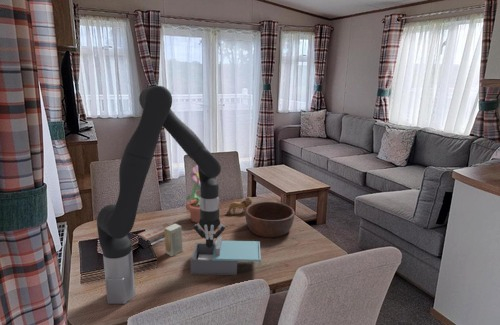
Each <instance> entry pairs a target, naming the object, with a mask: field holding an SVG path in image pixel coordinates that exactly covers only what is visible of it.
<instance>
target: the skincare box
mask: <svg viewBox="0 0 500 325" xmlns="http://www.w3.org/2000/svg"><path fill="white" fill-rule="evenodd" d="M164 231H165V240H164V243H165V254H167V255H169V256H170V257H174V256H175V255H178V254H180V253H182V252H183V251H184V250H183V248H184V247H183V234H182V233H183V231H182V225H180V224H178V223H173V224H171V225H170V226H168V227H166V228H164Z"/></svg>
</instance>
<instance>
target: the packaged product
mask: <svg viewBox="0 0 500 325" xmlns="http://www.w3.org/2000/svg"><path fill="white" fill-rule="evenodd" d="M168 226H171V225H170V224H168V223H163V224H160V225H158V226H154V227H153V228H150V229H147V230H144V231H142V232H138V234H136V236H137V235H138V236H139V238H142V239H143V240H145V241H147V240H149V241H150V242H151V245H152V246H154V245H157V244H159V243H161V242H165V231H164V228H166V227H168Z"/></svg>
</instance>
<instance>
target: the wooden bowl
mask: <svg viewBox="0 0 500 325" xmlns="http://www.w3.org/2000/svg"><path fill="white" fill-rule="evenodd" d="M295 215H296V213H295V210H294V209H293V207H291V206H289V205H288V204H284V203H282V202H279V201H278V202H276V201H258V202H252V204H251V205H249V206H247V207H246V209H245V212H244V216H245V221H246V225H247V227H248V229H249V231H250V232H251V233H252V234H253V235H256V236H259V237H262V238H273V237H274V238H279V237H283V236H284V235H287V234H288V233H289V232H290V230H291V229H292V226H293V224H294V220H295Z"/></svg>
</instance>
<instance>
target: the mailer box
mask: <svg viewBox="0 0 500 325" xmlns="http://www.w3.org/2000/svg"><path fill="white" fill-rule="evenodd" d="M214 246H215V242H213V246H211V248H208V246H206V242H195V245H194V248H193V251H192V254H191V257H190V274H191V275H217V276H218V275H219V276H220V275H223V276H224V275H227V276H229V275H231V276H237V275H238V274H237V272H238V262H239V261H212V256H213V251H214Z"/></svg>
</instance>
